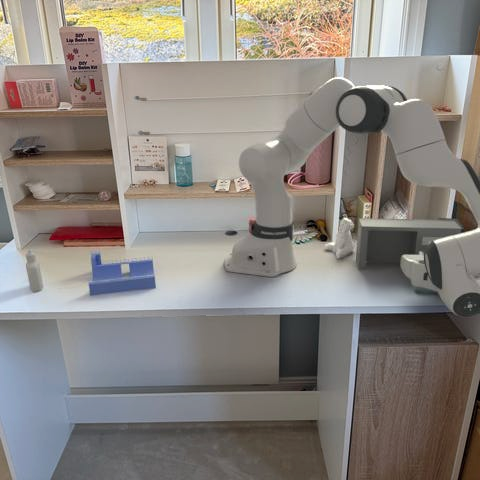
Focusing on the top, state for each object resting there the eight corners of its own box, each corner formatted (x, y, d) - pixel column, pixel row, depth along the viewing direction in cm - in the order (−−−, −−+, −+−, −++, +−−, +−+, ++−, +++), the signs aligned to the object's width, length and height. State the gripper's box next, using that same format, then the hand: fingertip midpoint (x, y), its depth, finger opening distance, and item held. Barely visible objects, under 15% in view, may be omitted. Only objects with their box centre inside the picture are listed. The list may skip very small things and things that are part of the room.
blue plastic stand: (90, 296, 130) (87, 273, 127) (94, 272, 145) (91, 251, 142) (155, 289, 133) (153, 266, 131) (152, 266, 148) (151, 245, 146)
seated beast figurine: (322, 249, 158) (324, 215, 154) (344, 245, 161) (346, 212, 157) (337, 259, 150) (340, 224, 146) (360, 255, 153) (363, 220, 149)
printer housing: (358, 270, 142) (362, 226, 137) (355, 259, 149) (359, 218, 144) (454, 273, 139) (462, 229, 134) (447, 262, 146) (453, 220, 141)
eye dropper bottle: (24, 292, 132) (16, 253, 128) (34, 283, 137) (27, 245, 133) (39, 292, 132) (31, 253, 127) (48, 283, 137) (41, 245, 133)
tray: (414, 292, 128) (415, 286, 128) (406, 274, 138) (406, 269, 138) (456, 293, 127) (457, 287, 126) (444, 276, 137) (445, 270, 136)
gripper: (494, 265, 115) (475, 244, 128) (408, 262, 117) (397, 242, 130) (490, 288, 117) (471, 265, 130) (405, 285, 120) (395, 263, 132)
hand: (433, 254), depth 130 cm, fingers closed on supplement bottle, 5 cm apart
